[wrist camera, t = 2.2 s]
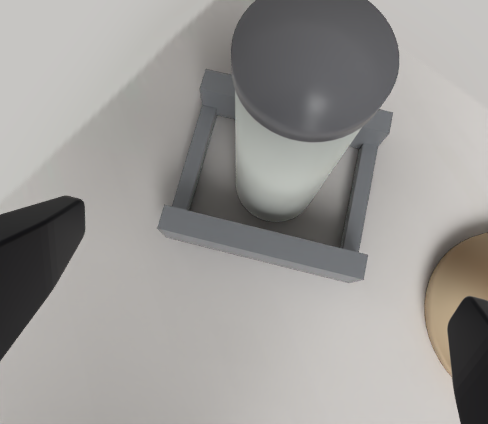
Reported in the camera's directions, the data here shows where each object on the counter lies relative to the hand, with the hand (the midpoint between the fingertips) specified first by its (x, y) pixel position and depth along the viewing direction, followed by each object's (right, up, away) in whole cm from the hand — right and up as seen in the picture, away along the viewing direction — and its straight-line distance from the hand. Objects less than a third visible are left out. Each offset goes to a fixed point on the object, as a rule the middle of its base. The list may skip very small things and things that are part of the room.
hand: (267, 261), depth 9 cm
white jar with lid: (+1, +3, +13) cm, 13 cm away
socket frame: (+1, +3, +13) cm, 13 cm away
